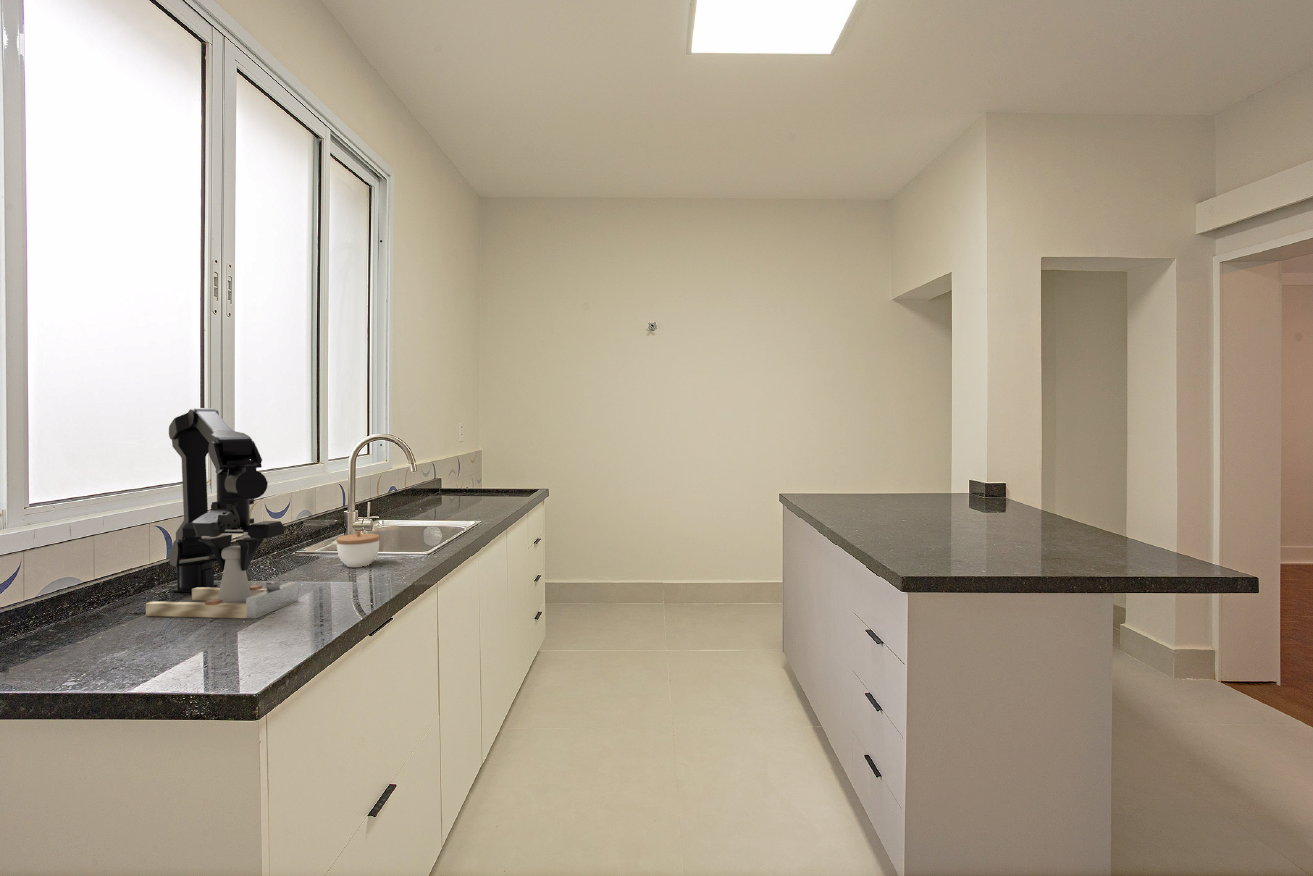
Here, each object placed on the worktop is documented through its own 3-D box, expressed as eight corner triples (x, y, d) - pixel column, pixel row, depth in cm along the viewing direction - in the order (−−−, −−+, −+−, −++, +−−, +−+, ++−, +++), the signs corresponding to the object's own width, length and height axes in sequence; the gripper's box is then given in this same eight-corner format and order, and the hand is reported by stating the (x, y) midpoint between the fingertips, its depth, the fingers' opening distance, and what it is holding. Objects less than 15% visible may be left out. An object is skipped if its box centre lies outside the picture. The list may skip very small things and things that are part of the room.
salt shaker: (234, 613, 131) (233, 549, 131) (211, 611, 132) (209, 549, 132) (257, 605, 137) (256, 544, 137) (234, 604, 138) (233, 543, 138)
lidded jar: (337, 571, 169) (336, 535, 169) (336, 563, 178) (336, 529, 178) (381, 566, 174) (381, 532, 174) (378, 559, 183) (378, 526, 183)
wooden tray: (144, 616, 129) (144, 588, 129) (198, 598, 143) (197, 573, 142) (256, 618, 127) (255, 590, 127) (299, 600, 141) (299, 574, 140)
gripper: (158, 500, 127) (159, 578, 127) (247, 500, 125) (248, 580, 126) (203, 493, 138) (204, 566, 138) (285, 494, 136) (286, 567, 137)
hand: (234, 570), depth 135 cm, fingers open, 4 cm apart
